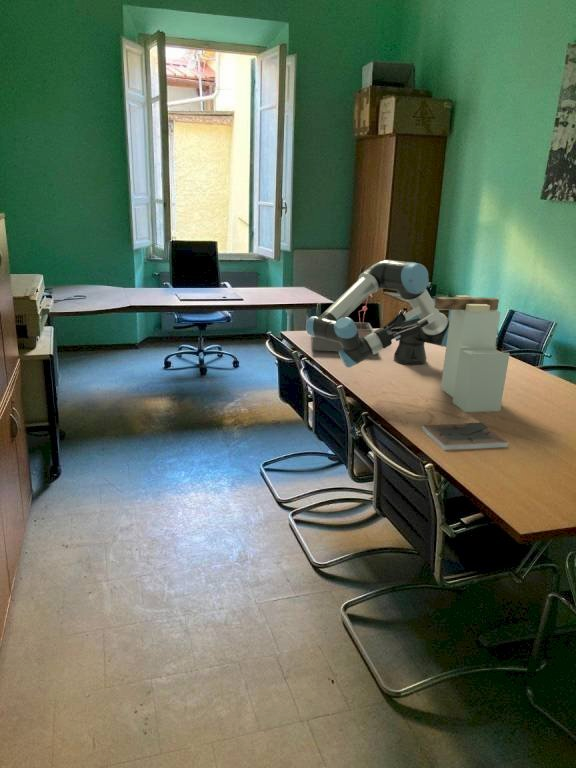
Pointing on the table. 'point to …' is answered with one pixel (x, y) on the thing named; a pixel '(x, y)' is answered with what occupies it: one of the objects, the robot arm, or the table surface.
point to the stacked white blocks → (467, 337)
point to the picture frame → (464, 436)
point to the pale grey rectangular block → (480, 379)
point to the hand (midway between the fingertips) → (427, 312)
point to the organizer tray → (336, 346)
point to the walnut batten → (463, 302)
